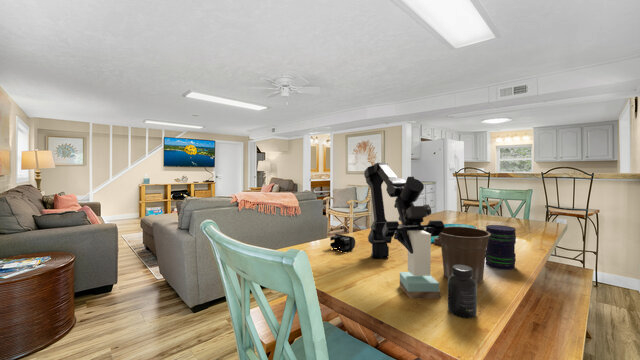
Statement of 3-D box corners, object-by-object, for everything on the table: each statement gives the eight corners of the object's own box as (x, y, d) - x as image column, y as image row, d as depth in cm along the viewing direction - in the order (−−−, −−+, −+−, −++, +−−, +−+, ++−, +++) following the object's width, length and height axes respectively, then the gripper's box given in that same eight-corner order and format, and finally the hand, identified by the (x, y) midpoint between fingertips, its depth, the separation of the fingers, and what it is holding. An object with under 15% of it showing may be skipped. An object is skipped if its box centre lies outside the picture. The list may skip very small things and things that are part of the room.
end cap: (355, 250, 131) (355, 235, 131) (346, 253, 126) (346, 238, 126) (339, 246, 138) (339, 232, 138) (329, 249, 133) (329, 235, 133)
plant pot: (469, 290, 86) (469, 239, 86) (427, 273, 101) (427, 229, 100) (500, 280, 94) (501, 233, 93) (457, 266, 108) (457, 224, 108)
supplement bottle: (442, 306, 77) (442, 263, 76) (466, 305, 77) (466, 262, 77) (456, 320, 70) (457, 272, 69) (482, 318, 70) (483, 271, 70)
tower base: (410, 300, 81) (410, 292, 81) (399, 288, 90) (399, 280, 90) (440, 299, 82) (440, 291, 82) (426, 287, 91) (426, 279, 91)
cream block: (414, 276, 83) (414, 234, 83) (407, 270, 88) (407, 230, 88) (430, 275, 84) (430, 234, 83) (423, 269, 89) (423, 230, 88)
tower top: (408, 291, 82) (408, 283, 82) (399, 279, 91) (399, 272, 91) (439, 291, 82) (439, 283, 82) (427, 279, 91) (427, 272, 91)
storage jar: (486, 268, 106) (486, 228, 106) (483, 260, 115) (484, 224, 115) (518, 271, 102) (518, 231, 101) (512, 263, 111) (513, 226, 110)
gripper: (385, 196, 88) (397, 239, 78) (442, 195, 90) (461, 238, 79) (377, 216, 96) (388, 258, 86) (430, 215, 98) (446, 256, 87)
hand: (420, 252), depth 84 cm, fingers closed on cream block, 5 cm apart
